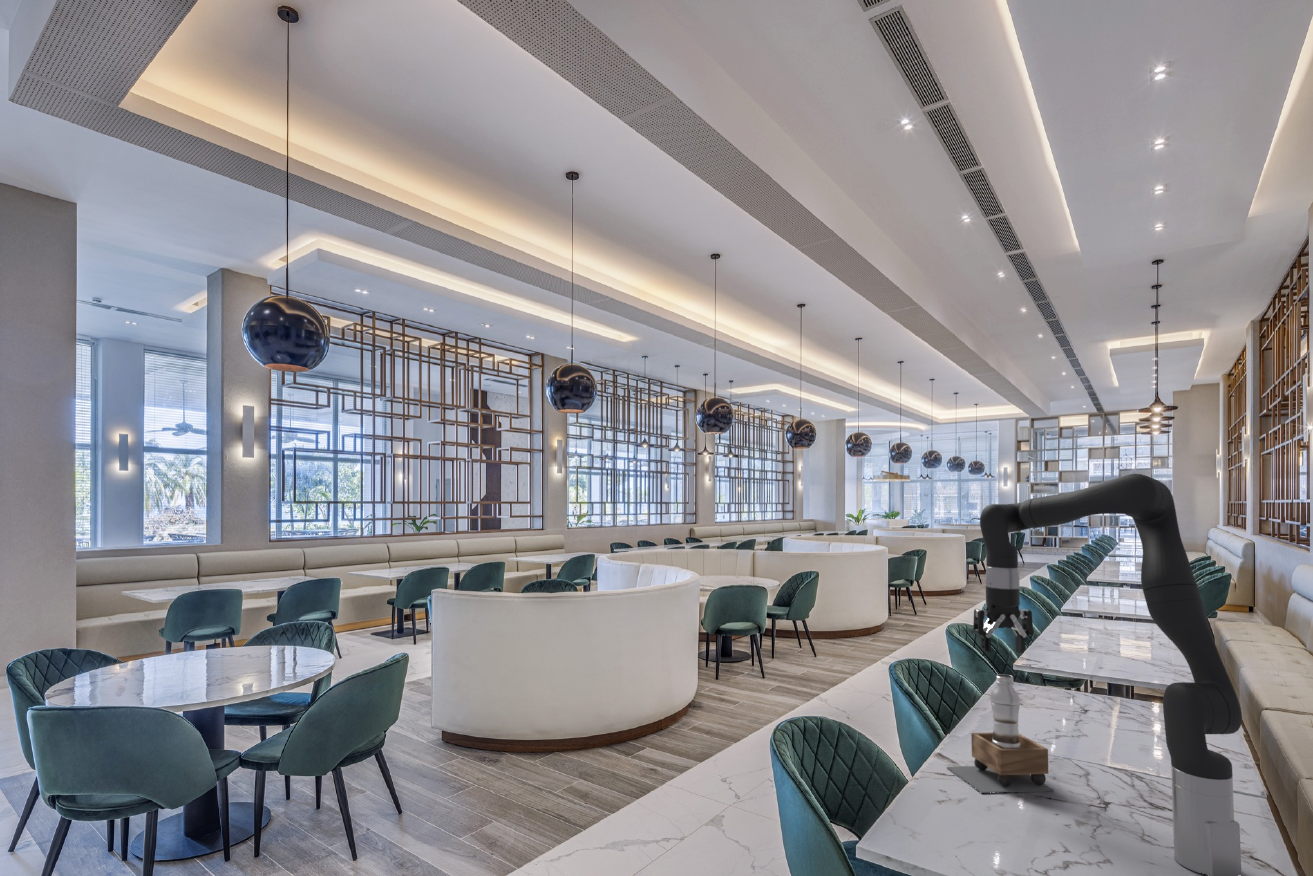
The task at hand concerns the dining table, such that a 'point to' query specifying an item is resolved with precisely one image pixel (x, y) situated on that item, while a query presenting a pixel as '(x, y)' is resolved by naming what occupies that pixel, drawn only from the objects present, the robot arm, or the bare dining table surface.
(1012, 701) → the plastic bottle
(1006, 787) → the gray mat
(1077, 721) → the dining table surface
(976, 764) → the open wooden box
